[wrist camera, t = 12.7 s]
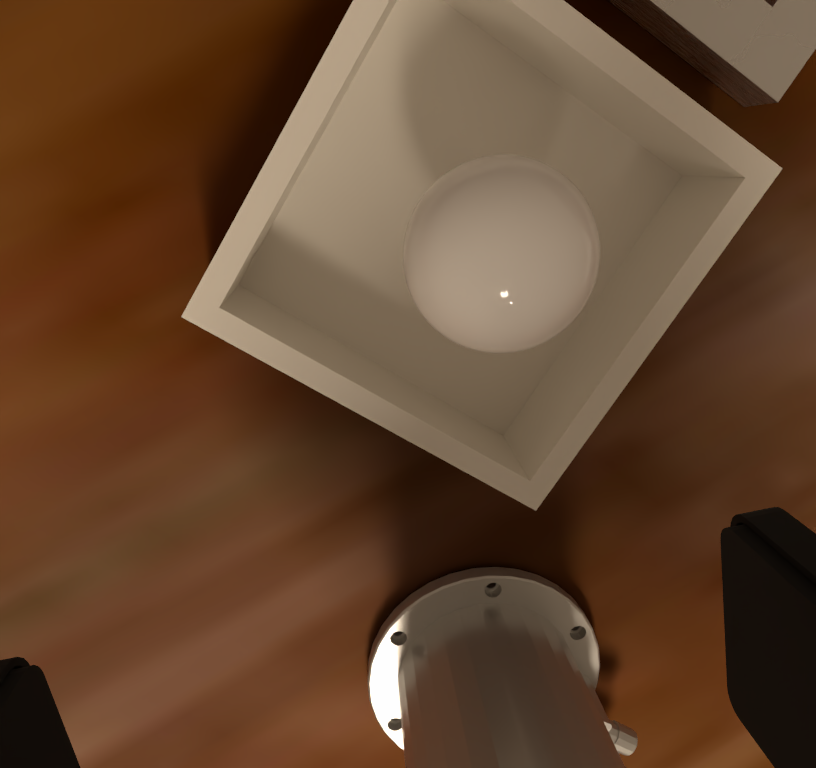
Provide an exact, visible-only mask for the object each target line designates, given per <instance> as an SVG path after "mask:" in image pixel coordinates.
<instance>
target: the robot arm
mask: <svg viewBox="0 0 816 768" xmlns="http://www.w3.org/2000/svg"><path fill="white" fill-rule="evenodd" d="M721 558H722V580H723V602H724V624H725V646H726V668H727V688H728V694H729V698H730V701H731V704H732V706H733V709H734V711H735V713H736V714H737V716H738V718H739V719H740V721H741V722H742V723H743V725H744V726H745V728H746V729H747V730H748V732H749V733H750V734H751V736H752V737H753V738H754V740H755V741H756V743H757V744H758V745H759V747H760V748H761V749H762V751H763V752H764V754H765V755H766V756H767V758H768V759H769V760H770V762H771V763H772V765H773V766H774V767H775V768H816V534H815V533H814V532H813V531H811V530H810V529H809V528H807V527H806V526H805V525H803V524H802V523H801V522H799V521H798V520H797V519H795V518H794V517H793V516H791V515H790V514H789V513H787V512H786V511H785V510H783V509H781V508H779V507H773V508H768V509H763V510H758V511H753V512H748V513H743V514H738V515H735V516H734V517H733V518H732V521H731V527H728V528H724V529H723V530H722V533H721ZM599 670H600V656H599V646H598V643H597V640H596V637H595V634H594V631H593V628H592V626H591V625H590V623H589V621H588V619H587V617H586V615H585V613H584V612H583V610H582V609H581V608H580V606H579V605H578V604H577V603H576V601H575V600H574V599H573V598H572V597H571V596H570V595H569V594H568V593H567V592H565V591H564V590H563V589H562V588H560V587H559V586H558V585H557V584H555V583H553V582H551V581H549V580H547V579H545V578H543V577H541V576H539V575H536V574H533V573H530V572H526V571H523V570H520V569H512V568H503V567H485V568H472V569H468V570H464V571H459V572H455V573H451V574H448V575H446V576H444V577H441V578H439V579H436V580H434V581H432V582H429V583H428V584H426V585H425V586H423V587H421V588H420V589H418V590H417V591H415V592H413V593H412V594H410V595H409V596H408V597H407V598H406V599H405V600H404V601H403V602H401V603H400V604H399V605H398V606H397V607H396V608H395V609H394V610H393V611H392V613H391V614H390V615H389V617H388V618H387V619H386V620H385V622H384V623H383V624H382V626H381V628H380V630H379V632H378V634H377V636H376V638H375V640H374V642H373V644H372V648H371V652H370V656H369V660H368V689H369V699H370V703H371V706H372V709H373V712H374V715H375V718H376V719H377V721H378V723H379V725H380V726H381V728H382V730H383V731H384V732H385V734H386V735H387V736H388V737H389V738H390V739H391V740H392V741H393V742H394V743H395V744H396V745H397V746H398V747H400V748H401V749H403V750H404V756H405V766H406V768H626V767H625V766H624V764H623V762H622V760H621V757H620V755H619V753H621V754H623V755H628V756H629V755H630V754H632V753H633V752H634V750H635V749H636V747H637V740H638V739H637V735H636V732H635V731H634V730H633V729H631V728H629V727H627V726H625V725H623V724H621V723H619V722H616V721H611V720H609V719H608V717H607V715H606V713H605V711H604V709H603V706H602V704H601V702H600V700H599V698H598V696H597V694H596V692H595V689H596V686H597V684H598V677H599ZM618 752H619V753H618ZM0 768H80V766H79V763H78V761H77V758H76V755H75V753H74V750H73V748H72V745H71V743H70V740H69V737H68V735H67V732H66V730H65V727H64V725H63V722H62V719H61V717H60V714H59V712H58V709H57V707H56V704H55V701H54V699H53V696H52V694H51V691H50V689H49V686H48V683H47V681H46V678H45V676H44V674H43V672H42V670H41V669H40V668H39V667H38V666H35V665H32V666H30V665H29V663H28V662H27V661H26V660H25V659H24V658H21V657H15V658H10V659H4V660H0Z"/></svg>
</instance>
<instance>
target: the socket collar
mask: <svg viewBox="0 0 816 768" xmlns="http://www.w3.org/2000/svg"><path fill="white" fill-rule="evenodd" d="M608 1H609V2H611V3H612V4H613V5H614V6H616V7H617V8H618V9H619V10H621V11H622V12H623V13H625V14H626V15H627V16H628V17H630V18H631V19H632V20H634V21H635V22H636V23H637V24H639V25H640V26H641V27H642V28H644V29H645V30H646V31H648V32H649V33H650V34H651V35H653V36H654V37H655V38H657V39H658V40H659V41H660V42H662V43H663V44H664V45H665V46H667V47H668V48H669V49H671V50H672V51H673V52H674V53H676V54H677V55H678V56H680V57H681V58H682V59H683V60H685V61H686V62H687V63H688V64H690V65H691V66H692V67H694V68H695V69H696V70H697V71H699V72H700V73H701V74H703V75H704V76H705V77H706V78H708V79H709V80H710V81H711V82H713V83H714V84H715V85H717V86H718V87H719V88H720V89H722V90H723V91H724V92H726V93H727V94H728V95H729V96H731V97H732V98H733V99H734V100H736V101H737V102H738V103H740V104H741V105H742V106H743V107H748V106H755V105H762V104H769V103H777V102H779V100H780V99H781V97H782V96H783V94H784V93H785V92H786V90H787V89H788V87H789V86H790V85H791V83H792V82H793V80H794V79H795V77H796V76H797V75H798V73H799V72H800V70H801V69H802V67H803V66H804V65H805V63H806V62H807V60H808V59H809V57H810V56H811V55H812V53H813V52H814V50H815V49H816V0H608Z"/></svg>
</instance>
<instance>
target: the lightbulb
mask: <svg viewBox="0 0 816 768" xmlns="http://www.w3.org/2000/svg"><path fill="white" fill-rule="evenodd" d="M600 258H601V244H600V235H599V230H598V226H597V222H596V219H595V216H594V214H593V211H592V209H591V207H590V205H589V203H588V202H587V200H586V198H585V197H584V195H583V194H582V193H581V191H580V190H579V189H578V188H577V186H576V185H575V184H574V183H573V182H572V181H571V180H570V179H569V178H567V177H566V176H565V175H564V174H562V173H561V172H560V171H558V170H557V169H555V168H554V167H552V166H550V165H548V164H546V163H544V162H542V161H539V160H537V159H534V158H530V157H526V156H522V155H515V154H493V155H486V156H481V157H477V158H474V159H471V160H468V161H466V162H463V163H461V164H459V165H457V166H456V167H454V168H452V169H450V170H449V171H447V172H446V173H445V174H443V175H442V176H441V177H439V178H438V179H437V180H436V181H435V182H434V183H433V184H432V185H431V186H430V187H429V188H428V189H427V190H426V192H425V193H424V194H423V196H422V197H421V198H420V200H419V201H418V203H417V205H416V207H415V208H414V210H413V212H412V214H411V217H410V219H409V222H408V225H407V228H406V232H405V236H404V242H403V270H404V276H405V280H406V284H407V287H408V290H409V293H410V295H411V297H412V300H413V302H414V304H415V305H416V307H417V309H418V310H419V312H420V313H421V315H422V316H423V317H424V318H425V320H426V321H427V322H428V323H429V324H430V325H431V326H432V327H433V328H434V329H435V330H436V331H438V332H439V333H440V334H441V335H443V336H444V337H446V338H447V339H449V340H451V341H452V342H454V343H456V344H458V345H460V346H463V347H465V348H468V349H471V350H475V351H479V352H484V353H495V354H504V353H514V352H520V351H524V350H528V349H531V348H534V347H537V346H539V345H541V344H543V343H545V342H547V341H549V340H551V339H552V338H554V337H555V336H557V335H558V334H560V333H561V332H562V331H563V330H565V329H566V328H567V327H568V326H569V325H570V324H571V323H572V322H573V321H574V320H575V319H576V317H577V316H578V315H579V314H580V312H581V311H582V310H583V308H584V307H585V305H586V303H587V302H588V300H589V298H590V296H591V294H592V291H593V289H594V287H595V284H596V280H597V277H598V273H599V267H600Z"/></svg>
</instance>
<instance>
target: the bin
mask: <svg viewBox="0 0 816 768" xmlns="http://www.w3.org/2000/svg"><path fill="white" fill-rule="evenodd" d="M493 154H515V155H522V156H526V157H530V158H534V159H537V160H539V161H542V162H544V163H546V164H548V165H550V166H552V167H554V168H555V169H557V170H558V171H560V172H561V173H562V174H564V175H565V176H566V177H567V178H569V179H570V180H571V181H572V182H573V183H574V184H575V185H576V186H577V188H578V189H579V190H580V191H581V193H582V194H583V195H584V197H585V198H586V200H587V202H588V203H589V205H590V207H591V209H592V211H593V214H594V216H595V219H596V222H597V226H598V230H599V235H600V244H601V258H600V267H599V273H598V277H597V280H596V284H595V287H594V289H593V291H592V294H591V296H590V298H589V300H588V302H587V303H586V305H585V307H584V308H583V310H582V311H581V312H580V314H579V315H578V316H577V317H576V319H575V320H574V321H573V322H572V323H571V324H570V325H569V326H568V327H567V328H566V329H565V330H563V331H562V332H561V333H560V334H558V335H557V336H555V337H554V338H552V339H551V340H549V341H547V342H545V343H543V344H541V345H539V346H537V347H534V348H531V349H528V350H524V351H520V352H514V353H504V354H495V353H484V352H479V351H475V350H471V349H468V348H465V347H463V346H460V345H458V344H456V343H454V342H452V341H451V340H449V339H447V338H446V337H444V336H443V335H441V334H440V333H439V332H438V331H436V330H435V329H434V328H433V327H432V326H431V325H430V324H429V323H428V322H427V321H426V320H425V318H424V317H423V316H422V315H421V313H420V312H419V310H418V309H417V307H416V305H415V304H414V302H413V300H412V297H411V295H410V293H409V290H408V287H407V284H406V280H405V276H404V270H403V242H404V236H405V232H406V228H407V225H408V222H409V219H410V217H411V214H412V212H413V210H414V208H415V207H416V205H417V203H418V201H419V200H420V198H421V197H422V196H423V194H424V193H425V192H426V190H427V189H428V188H429V187H430V186H431V185H432V184H433V183H434V182H435V181H436V180H437V179H438V178H439V177H441V176H442V175H443V174H445V173H446V172H447V171H449V170H450V169H452V168H454V167H456V166H457V165H459V164H461V163H463V162H466V161H468V160H471V159H474V158H477V157H481V156H486V155H493ZM782 169H783V168H781V167H780V166H779V165H777V164H776V163H775V162H773V161H772V160H771V159H770V158H768V157H767V156H766V155H764V154H763V153H762V152H760V151H759V150H758V149H757V148H755V147H754V146H753V145H751V144H750V143H749V142H747V141H746V140H745V139H744V138H742V137H741V136H740V135H738V134H737V133H736V132H734V131H733V130H732V129H730V128H729V127H728V126H727V125H725V124H724V123H723V122H721V121H720V120H719V119H717V118H716V117H715V116H714V115H712V114H711V113H710V112H708V111H707V110H706V109H704V108H703V107H702V106H701V105H699V104H698V103H697V102H695V101H694V100H693V99H691V98H690V97H689V96H688V95H686V94H685V93H684V92H682V91H681V90H680V89H678V88H677V87H676V86H675V85H673V84H672V83H671V82H669V81H668V80H667V79H665V78H664V77H663V76H662V75H660V74H659V73H658V72H656V71H655V70H654V69H652V68H651V67H650V66H648V65H647V64H646V63H645V62H643V61H642V60H641V59H639V58H638V57H637V56H635V55H634V54H633V53H632V52H630V51H629V50H628V49H626V48H625V47H624V46H622V45H621V44H620V43H619V42H617V41H616V40H615V39H613V38H612V37H611V36H609V35H608V34H607V33H606V32H604V31H603V30H602V29H600V28H599V27H598V26H596V25H595V24H594V23H593V22H591V21H590V20H589V19H587V18H586V17H585V16H583V15H582V14H581V13H580V12H578V11H577V10H576V9H574V8H573V7H572V6H570V5H569V4H568V3H566V2H565V1H564V0H353V1H352V3H351V5H350V7H349V9H348V11H347V12H346V14H345V16H344V18H343V20H342V22H341V23H340V25H339V27H338V29H337V31H336V33H335V34H334V36H333V38H332V40H331V42H330V44H329V46H328V47H327V49H326V51H325V53H324V55H323V57H322V58H321V60H320V62H319V64H318V66H317V68H316V69H315V71H314V73H313V75H312V77H311V79H310V81H309V82H308V84H307V86H306V88H305V90H304V92H303V93H302V95H301V97H300V99H299V101H298V103H297V104H296V106H295V108H294V110H293V112H292V114H291V116H290V117H289V119H288V121H287V123H286V125H285V127H284V128H283V130H282V132H281V134H280V136H279V138H278V139H277V141H276V143H275V145H274V147H273V149H272V151H271V152H270V154H269V156H268V158H267V160H266V162H265V163H264V165H263V167H262V169H261V171H260V173H259V174H258V176H257V178H256V180H255V182H254V184H253V186H252V187H251V189H250V191H249V193H248V195H247V197H246V198H245V200H244V202H243V204H242V206H241V208H240V210H239V211H238V213H237V215H236V217H235V219H234V221H233V222H232V224H231V226H230V228H229V230H228V232H227V233H226V235H225V237H224V239H223V241H222V243H221V245H220V246H219V248H218V250H217V252H216V254H215V256H214V257H213V259H212V261H211V263H210V265H209V267H208V268H207V270H206V272H205V274H204V276H203V278H202V280H201V281H200V283H199V285H198V287H197V289H196V291H195V292H194V294H193V296H192V298H191V300H190V302H189V303H188V305H187V307H186V309H185V311H184V313H183V315H182V316H181V317H182V318H184V319H186V320H188V321H190V322H191V323H193V324H195V325H197V326H199V327H201V328H202V329H204V330H206V331H208V332H210V333H212V334H213V335H215V336H217V337H219V338H221V339H223V340H224V341H226V342H228V343H230V344H232V345H234V346H235V347H237V348H239V349H241V350H243V351H245V352H246V353H248V354H250V355H252V356H254V357H255V358H257V359H259V360H261V361H263V362H265V363H266V364H268V365H270V366H272V367H274V368H276V369H277V370H279V371H281V372H283V373H285V374H287V375H288V376H290V377H292V378H294V379H296V380H298V381H299V382H301V383H303V384H305V385H307V386H309V387H310V388H312V389H314V390H316V391H318V392H319V393H321V394H323V395H325V396H327V397H329V398H330V399H332V400H334V401H336V402H338V403H340V404H341V405H343V406H345V407H347V408H349V409H351V410H352V411H354V412H356V413H358V414H360V415H362V416H363V417H365V418H367V419H369V420H371V421H373V422H374V423H376V424H378V425H380V426H382V427H384V428H385V429H387V430H389V431H391V432H393V433H394V434H396V435H398V436H400V437H402V438H404V439H405V440H407V441H409V442H411V443H413V444H415V445H416V446H418V447H420V448H422V449H424V450H426V451H427V452H429V453H431V454H433V455H435V456H437V457H438V458H440V459H442V460H444V461H446V462H448V463H449V464H451V465H453V466H455V467H457V468H458V469H460V470H462V471H464V472H466V473H468V474H469V475H471V476H473V477H475V478H477V479H479V480H480V481H482V482H484V483H486V484H488V485H490V486H491V487H493V488H495V489H497V490H499V491H501V492H502V493H504V494H506V495H508V496H510V497H512V498H513V499H515V500H517V501H519V502H521V503H522V504H524V505H526V506H528V507H530V508H532V509H533V510H535V511H536V510H537V509H538V507H539V506H540V505H541V503H542V502H543V500H544V499H545V498H546V496H547V495H548V494H549V492H550V491H551V489H552V488H553V487H554V485H555V484H556V482H557V481H558V480H559V478H560V477H561V475H562V474H563V473H564V471H565V470H566V469H567V467H568V466H569V464H570V463H571V462H572V460H573V459H574V457H575V456H576V455H577V453H578V452H579V450H580V449H581V448H582V446H583V445H584V444H585V442H586V441H587V439H588V438H589V437H590V435H591V434H592V432H593V431H594V430H595V428H596V427H597V425H598V424H599V423H600V421H601V420H602V419H603V417H604V416H605V414H606V413H607V412H608V410H609V409H610V407H611V406H612V405H613V403H614V402H615V401H616V399H617V398H618V396H619V395H620V394H621V392H622V391H623V389H624V388H625V387H626V385H627V384H628V382H629V381H630V380H631V378H632V377H633V376H634V374H635V373H636V371H637V370H638V369H639V367H640V366H641V364H642V363H643V362H644V360H645V359H646V357H647V356H648V355H649V353H650V352H651V351H652V349H653V348H654V346H655V345H656V344H657V342H658V341H659V339H660V338H661V337H662V335H663V334H664V332H665V331H666V330H667V328H668V327H669V326H670V324H671V323H672V321H673V320H674V319H675V317H676V316H677V314H678V313H679V312H680V310H681V309H682V307H683V306H684V305H685V303H686V302H687V301H688V299H689V298H690V296H691V295H692V294H693V292H694V291H695V289H696V288H697V287H698V285H699V284H700V282H701V281H702V280H703V278H704V277H705V276H706V274H707V273H708V271H709V270H710V269H711V267H712V266H713V264H714V263H715V262H716V260H717V259H718V258H719V256H720V255H721V253H722V252H723V251H724V249H725V248H726V246H727V245H728V244H729V242H730V241H731V239H732V238H733V237H734V235H735V234H736V233H737V231H738V230H739V228H740V227H741V226H742V224H743V223H744V221H745V220H746V219H747V217H748V216H749V214H750V213H751V212H752V210H753V209H754V208H755V206H756V205H757V203H758V202H759V201H760V199H761V198H762V196H763V195H764V194H765V192H766V191H767V189H768V188H769V187H770V185H771V184H772V183H773V181H774V180H775V178H776V177H777V176H778V174H779V173H780V171H781V170H782Z"/></svg>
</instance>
